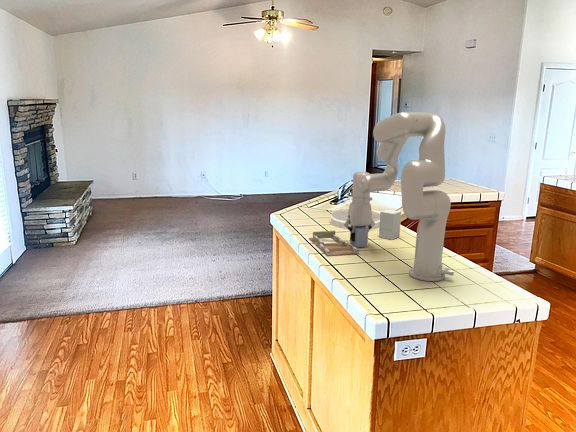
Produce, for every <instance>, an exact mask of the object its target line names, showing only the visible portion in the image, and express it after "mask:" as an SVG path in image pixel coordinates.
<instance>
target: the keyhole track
mask: <svg viewBox="0 0 576 432" xmlns="http://www.w3.org/2000/svg"><path fill="white" fill-rule="evenodd" d="M308 239H309V241H311V242H312V243H313V244H314V245H315V246H316V247H317V248H318V249H319V250H320V251H321V252H322V253H323V254H325V256H326V257H338V256H354V255H355V256H356V255H360V249H358V247H356V246H354V245H353V244H352V243H350V242H346V241H345V240H344V239H342V238H341V237H339V236H338V235H336V230H322V231H319V230H318V231H313V232H312V237H309V238H308Z"/></svg>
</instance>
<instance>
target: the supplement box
mask: <svg viewBox="0 0 576 432" xmlns="http://www.w3.org/2000/svg"><path fill="white" fill-rule="evenodd" d="M379 214H380V227H379V228H378V232H379V233H378V238H381V239H387V240H390V241H391V240H395V239H398V238H400V235H401V221H402V219H401V217H402V211H400V210H393V209H389V208H388V209H384V210H380V212H379Z"/></svg>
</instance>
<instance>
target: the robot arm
mask: <svg viewBox="0 0 576 432" xmlns="http://www.w3.org/2000/svg"><path fill="white" fill-rule="evenodd" d="M372 137H373V138H374V140H375V141H376V142H377V143H379V146H378V148H377V150H376V156H377V158H378V159H379V160H380V161H381V162H384V163H385V164H387V165H386V167H385V169H384V171H383V172H381V173H369V172H367V171H356V172H354V173H353V175H352V178H353V179H352V195H351V197H352V198H351V202H350V203H349V205H348V209H349V210H348V217H347V218H346V219H347V221H346V222H345V223H344V226H345V227H346V228H347V229H346V230H348V231H349V232H350V233H349V234H350V235H349V240H350V239H351V240H352V241H353V242H354V241H355V233H354V231H355V228H356V226H364V227H366V228H368V233H369V232H370V231H371V230H370V229H371V228H372V227H373V226H374V225H375V222H374V221H373V220H372V211H373V210H372V205H371V203H370V202H371V201H373V197H371V196H370V195H371V193H375V192H376V193H377V192H386V191H388V190H390V189H391V188H392V186H393V185H394V183H395V181H396V180H397V178H398V175H399V164H398V160H397V159H398V157H399V155H400V154H401V152H402V150H403V148H404V146H405V144H406V142H407V141H408V138H409V137H423V138H422V140H421V141H420V143H419V144H420V145H419V147H418V159H415V160H410V161H408V162H406V163H405V165H404V166H403V167H402V171H401V174H400V187H401V190H400V191H401V207H402V211H403V214H404V216H406V218H408V219H409V220H419V222H418V224H417V228H416V239H415V250H414V259H413V260H414V262H413V267H411V268H410V269H409V270H408V275H409V276H410V277H412V278H414V279H417V280H419V281H425V282H439V281H442V280H444V279H445V277H446V275H448V276H452V277H453V276H454V273H455V270H453V269H452V268H450V267H445V266H443V264H444V263H443V262H442V261H443V253H444V252H443V251H444V245H445V242H444V241H445V235H446V234H445V233H446V225H447V221H448V217H449V213H450V210H451V207H452V206H451V205H452V202H451V198H450V196H449V194H447V193H446V192H445V191H443V190H439V189H437V190H435V189H432V190H424V188H430V187H437V186H440V185H441V184H443V183H444V182H445V179H446V178H445V177H446V159H445V156H446V154H445V153H446V152H445V141H446V124H445V122H444V120H443V118H442V117H441V116H440V115H438V114H436V113H432V112H427V111H426V112H425V111H401V112H396V113H394V114H391V115H390V116H387V117H384V118H382V119H380V120H379V121H378V122H377V123H376V124H375V125H374V127H373V131H372ZM348 224H350V225H351V227H349V226H348Z"/></svg>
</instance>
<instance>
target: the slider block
mask: <svg viewBox="0 0 576 432" xmlns="http://www.w3.org/2000/svg"><path fill="white" fill-rule="evenodd" d="M354 233H355V241H354V242H353V241H352V240H351V239H350V238H349V243H350V244H352V245H353V246H354V247H356V248H365V247H366V248H367V247H368V243H369V242H368V241H369V232H368V228H366V227H364V226H356V228H355V231H354Z"/></svg>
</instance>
